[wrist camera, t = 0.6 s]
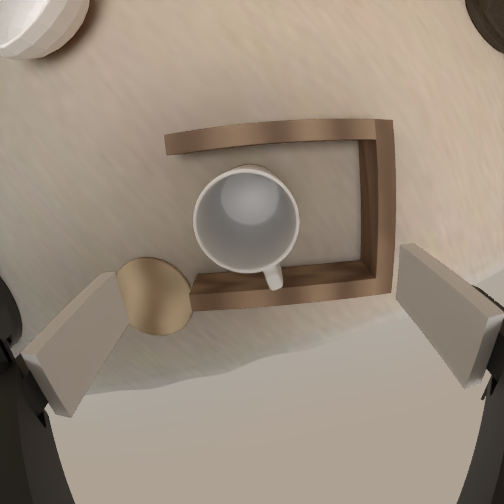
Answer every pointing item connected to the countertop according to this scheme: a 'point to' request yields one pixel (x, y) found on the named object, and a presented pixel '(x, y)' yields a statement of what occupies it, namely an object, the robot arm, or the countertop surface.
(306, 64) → the countertop surface
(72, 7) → the white bowl
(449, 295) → the robot arm
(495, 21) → the beer stein
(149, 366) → the countertop surface
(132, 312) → the coaster
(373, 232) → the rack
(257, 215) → the mug
